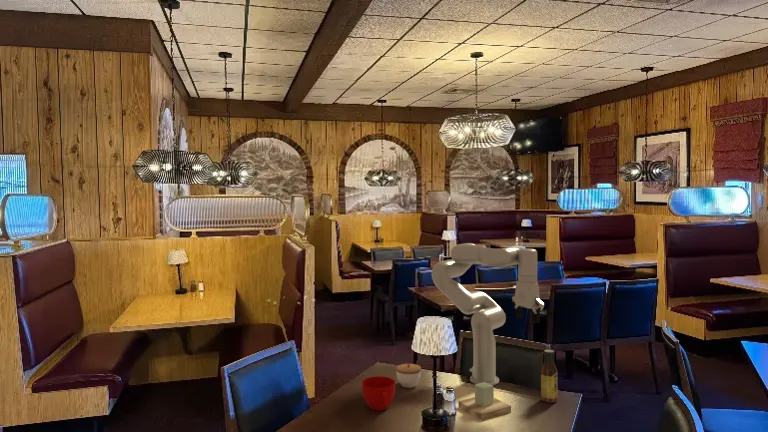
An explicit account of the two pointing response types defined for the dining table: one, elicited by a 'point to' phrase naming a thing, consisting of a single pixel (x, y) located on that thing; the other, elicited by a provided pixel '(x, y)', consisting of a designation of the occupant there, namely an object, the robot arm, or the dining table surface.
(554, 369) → the sauce bottle
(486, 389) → the green block
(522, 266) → the robot arm
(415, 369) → the lidded jar
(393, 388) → the ceramic cup
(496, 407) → the riser block
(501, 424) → the dining table surface
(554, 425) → the dining table surface
